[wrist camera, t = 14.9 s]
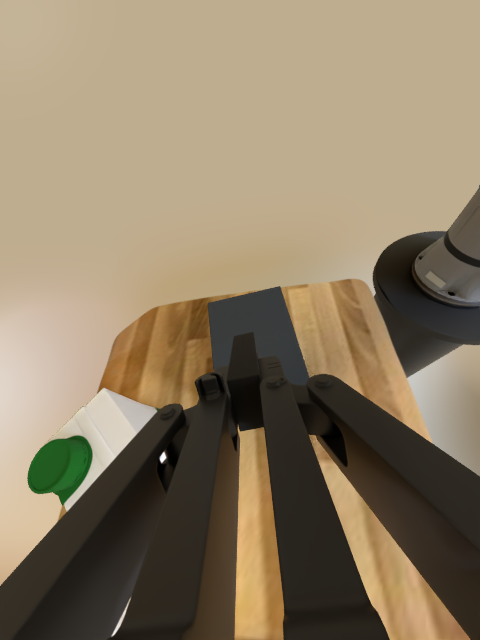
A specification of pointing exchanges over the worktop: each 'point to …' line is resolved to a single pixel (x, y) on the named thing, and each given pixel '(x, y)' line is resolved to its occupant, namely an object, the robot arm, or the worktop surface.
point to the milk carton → (87, 446)
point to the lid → (257, 330)
